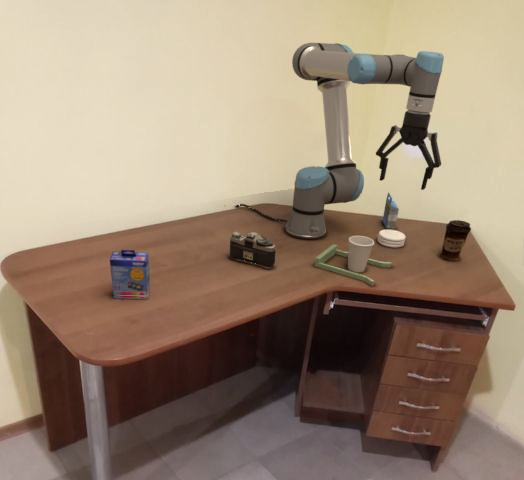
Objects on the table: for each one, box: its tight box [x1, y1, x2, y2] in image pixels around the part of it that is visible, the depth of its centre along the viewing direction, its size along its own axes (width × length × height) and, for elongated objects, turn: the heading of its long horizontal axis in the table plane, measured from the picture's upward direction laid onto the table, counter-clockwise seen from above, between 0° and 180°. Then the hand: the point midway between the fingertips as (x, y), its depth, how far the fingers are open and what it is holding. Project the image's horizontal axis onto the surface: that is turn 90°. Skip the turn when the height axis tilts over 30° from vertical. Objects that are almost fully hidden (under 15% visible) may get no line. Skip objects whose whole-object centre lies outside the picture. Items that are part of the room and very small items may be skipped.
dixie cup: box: [347, 235, 375, 273], centre depth 171 cm, size 8×8×10 cm
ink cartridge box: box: [109, 249, 151, 300], centre depth 143 cm, size 10×6×14 cm, turn 95°
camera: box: [229, 231, 277, 270], centre depth 170 cm, size 16×10×10 cm, turn 65°
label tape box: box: [382, 191, 400, 230], centre depth 207 cm, size 9×4×12 cm, turn 179°
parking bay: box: [313, 243, 392, 287], centre depth 173 cm, size 21×18×3 cm
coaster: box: [377, 229, 406, 249], centre depth 194 cm, size 10×10×4 cm
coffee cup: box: [440, 219, 472, 261], centre depth 184 cm, size 9×8×13 cm
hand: (402, 184), depth 165 cm, fingers open, 13 cm apart
